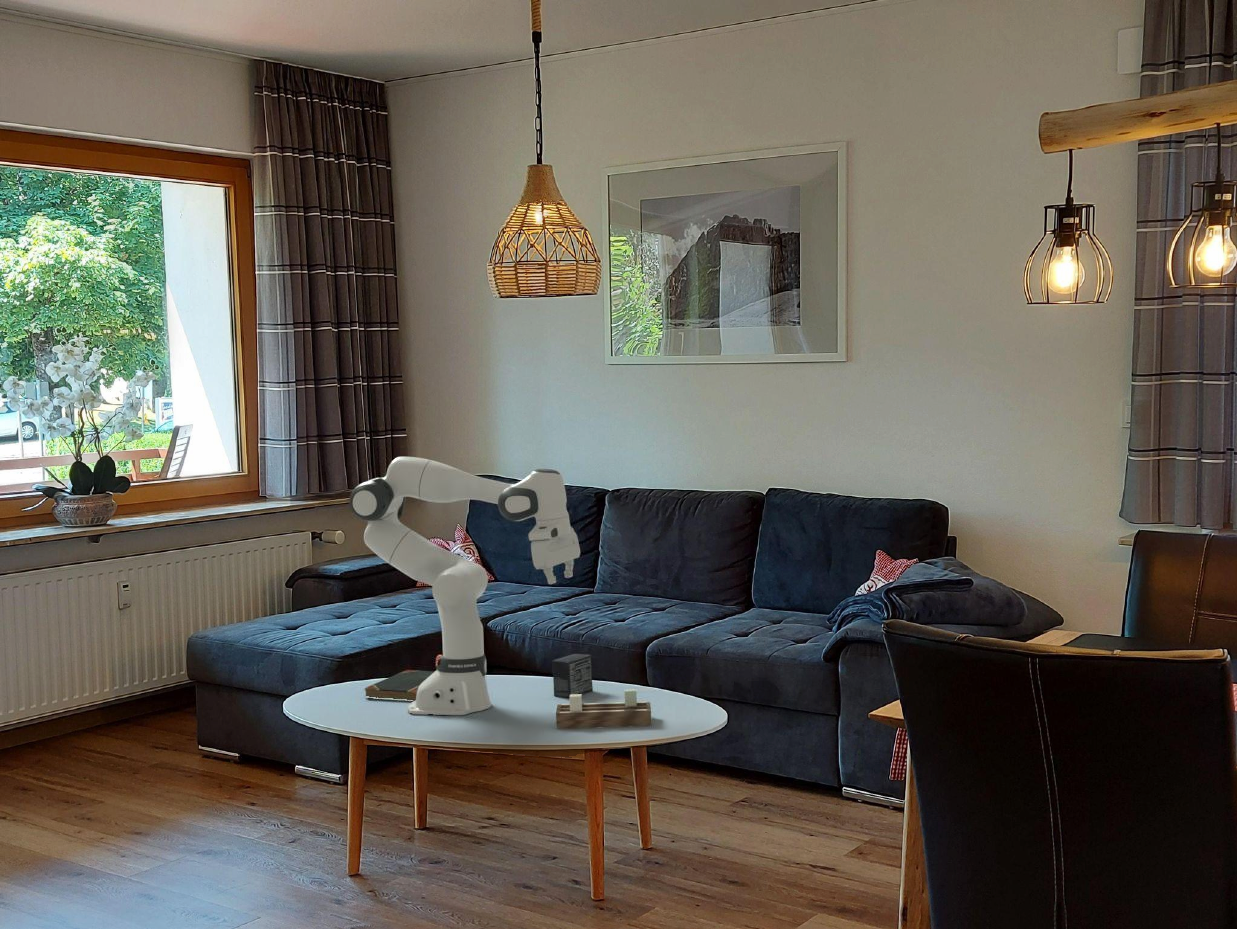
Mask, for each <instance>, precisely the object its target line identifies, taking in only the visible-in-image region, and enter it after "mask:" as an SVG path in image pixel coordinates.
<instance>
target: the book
mask: <svg viewBox="0 0 1237 929" xmlns="http://www.w3.org/2000/svg"><path fill="white" fill-rule="evenodd" d="M434 672H435V671H432V670H430V671H428V670H417V669H416V670H415V669H413V670H412V669H405V670H403V671H401V672H399V673H395V675H392V676H390V677H387V678H385V679H383V680H380V681H378V682H376V683H373V684H371V685H369V686H367V687H364V691H365V697H366V696H369V697H376V698H377V697H378V698H393V699H407V700H413V701H415V700H416V694H417V690H418V687H419V686H420V684H421V683H422V682H423V681H425V680H426V679H427V678H428V677H429V676H430V675H432V674H433V673H434Z"/></svg>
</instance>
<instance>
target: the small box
mask: <svg viewBox="0 0 1237 929" xmlns="http://www.w3.org/2000/svg"><path fill="white" fill-rule="evenodd" d="M592 671H593V669H592V655H591V654H582V653H580V654H579V653H573V654H570V655H566V656H562V657H559V658H556V659H553V660H552V678H553V680H552V681H553V697H554V696H555V697H556V698H561V699H562V698H563V699H568V700H570V694H582V696H583V695H585V694H588V693H591V692H593V691H594V689H593V672H592Z"/></svg>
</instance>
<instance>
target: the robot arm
mask: <svg viewBox="0 0 1237 929" xmlns="http://www.w3.org/2000/svg"><path fill="white" fill-rule="evenodd" d="M386 470H387V471H386V474H385V476H381V477H375V478H371V479H369V480H367V481H363V482H362V483H359V484H358V485H357V486H355V488H354V489H352V492H351V493H350V496H349V500H348V503H349V508H350V510H351V512H352V514H354V516H355V517H357V519H359V520H362V521H366V522H367V526H366V527H365V529H364V534H363V541H364V544H365V545H366V547H368V548H369V549H370V550H371V551H372V552H373V553H374V554H375V555H377V556H378V557H379V558H380V559H382V560H383V561H384V562H386V563H388V564H389V565H390V566H392V567H394V568H395V569H397V570H398V571H400V572H401V573H403V574H404V575H406V576H408V577H409V578H411V579H413V580H415V581H417V582H420V583H423V584H427V585H429V586H431V587H432V590H431V592H432V597H433V599H434V601H435V603H436V608H437V612H438V615H439V620H440V626H441V634H442V636H441V637H442V640H441V641H442V654H438V655H437V656H436V658H435V669H436V670H435V671H434V673H433V674H432V675H430V676H429V677H428V678H427V679H426V680H425V681H423V682H422V683H421V684H420V686H419V687H418V690H417V694H416V700H415V701H413V702H410V703H409V704H408V706H407V712H408V711H409V712H408V713H409V714H410V713H412V714H411V715H428V714H433V716H434V715H435V716H436V715H438V716H439V715H441V716H442V715H443V716H444V715H445V716H465V715H468V714H471V713H475V712H476V713H477V712H481V711H483V710H487V709H489V708H491V707H492V705H493V704H492V702H491V698H490V693H489V690H488V686H487V678H486V674H487V659H486V658H487V657H486V654H485V652H484V651H485V650H484V649H485V647H484V626H483V623H482V621H481V618H480V613H479V611H478V605H477V599H479V598H480V597H482V595H484V592H485V591H486V589H487V586H488V581H489V576H488V573H487V571H486V569H485V568H484V567H483V566H482V565H480V564H479V563H476V562H475V561H474V562H473V561H471V560H469V559H466V558H465V557H463V556H461V555H458V554H456V553H454V552H452V551H450V550H447V549H445V548H443V547H441V546H439V545H437V544H435V543H433V542H432V541H430V540H429V539H427V538H425V537H424V536H422V535H421V534H419V533H418V532H416V531H415V530H413V529H411V528H409V527H408V526H406V525H404V524H403V523H402V522H401V521H400V520H399V519H400V518H401V517H402V515H403V510H404V506H405V502H406V501H407V500H406V498H408V497H409V498H414V499H418V500H422V501H425V502H431V503H437V504H438V503H440V504H443V503H445V504H446V503H447V504H448V503H454V502H460V501H466V500H475V501H481V502H486V503H492V504H496V505H497V507H498V511H499V513H500V514H501V516H502V517H503V518H505V519H506V520H509V521H510V522H511V521H512V522H520V521H521V522H522V521H524V520H526V519H527V520H528V519H529V518H530V519H531V518H535V521H536V522H535V523H536V524H535V525H534V527H533V528H532V529H531V530H530V532H528V540H529V541H530V542H531V544H530V550H531V558H532V563H533V566H534V569H535V570H542V571H543V573H544V575H545V577H546V580H547V584H548V585H553V584H556V583H557V577H556V575H554V572H553V571H554V567H555V566H557V565H560V564H563V563H564V565H565V570H564V571H563V574H564V578H566V579H568V578H572V577H573V576H574V574H573V570H574V564H575V562H574V560H575V559H578V558H580V555H581V547H580V544H579V539H578V538H579V537H578V535H577V533H576V532H575V530H574V529H575V528H573V527H572V526H571V523H570V521H571V520H570V514H569V512H568V510H567V502H568V500H567V492H566V487H565V483H564V478H563V476H562V474H561V473H560V472H559V471H557V469H555V470H554V469H549V468H542V469H541V468H538V469H533V470H532V471H531V473H530V474H528V475H527V476H526V477H525V478H523V479H522V480H520V481H519V482H516V483H515V482H514V483H510V482H505V481H500V480H496V479H491V478H486V477H481V476H478V475H474V474H472V473H470V472H466V471H464V470H461V469H459V468H456V467H453V466H451V465H449V464H446V463H442V462H441V461H437V460H432V459H429V458H428V459H427V458H422V457H417V456H415V457H414V456H397V457H395V458H394V459H393V460H392V461H391V462H390V464H389V465H388V467H387V469H386Z"/></svg>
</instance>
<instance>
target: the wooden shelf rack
mask: <svg viewBox="0 0 1237 929" xmlns="http://www.w3.org/2000/svg"><path fill="white" fill-rule="evenodd" d="M556 706H557V707H556V712H555V721H556V722H555V725H556V726H555V727H556V728H555V729H556V730H561V729H563V730H565V729H570V730H571V729H597V727H604V728H629V726H638V727H651V726H652V706H651V701H637V706H625V701H623V702H619V701H618V702H594V703H591V702H590V703H589V702H588V703H586V702H584V703H583V702H582V711H570V703H561V704H557V705H556ZM650 725H651V726H650Z"/></svg>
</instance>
